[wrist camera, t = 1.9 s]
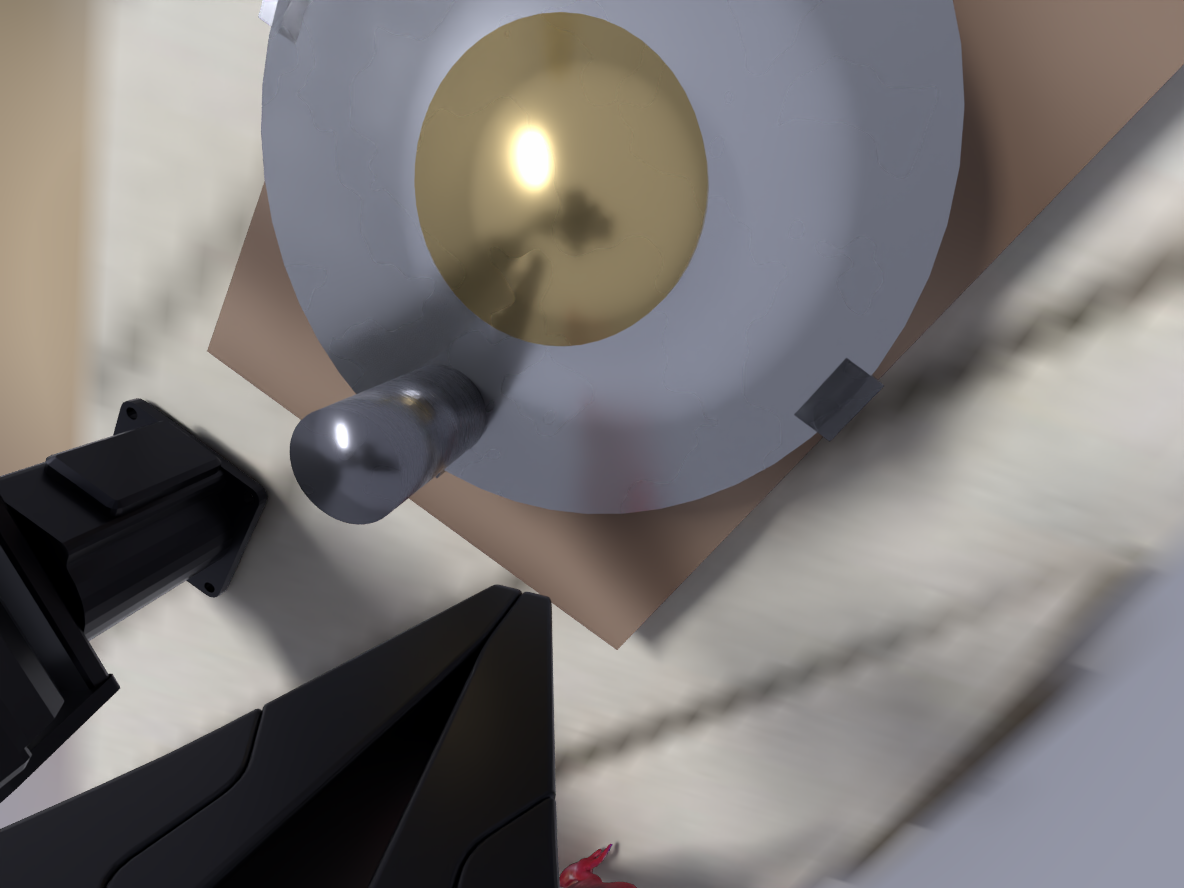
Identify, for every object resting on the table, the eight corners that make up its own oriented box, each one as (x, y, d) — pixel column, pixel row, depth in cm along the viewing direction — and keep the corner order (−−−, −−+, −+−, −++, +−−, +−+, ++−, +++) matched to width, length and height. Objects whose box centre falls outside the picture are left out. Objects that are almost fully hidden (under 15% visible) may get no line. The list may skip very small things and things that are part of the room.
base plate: (624, 622, 20) (617, 650, 19) (242, 343, 20) (207, 351, 19) (1238, -28, 11) (1307, -65, 10) (569, -544, 11) (547, -653, 10)
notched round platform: (490, -391, 11) (208, -1138, 5) (1115, 87, 11) (1550, -86, 5) (250, 282, 17) (-1, 303, 11) (656, 579, 18) (618, 753, 12)
